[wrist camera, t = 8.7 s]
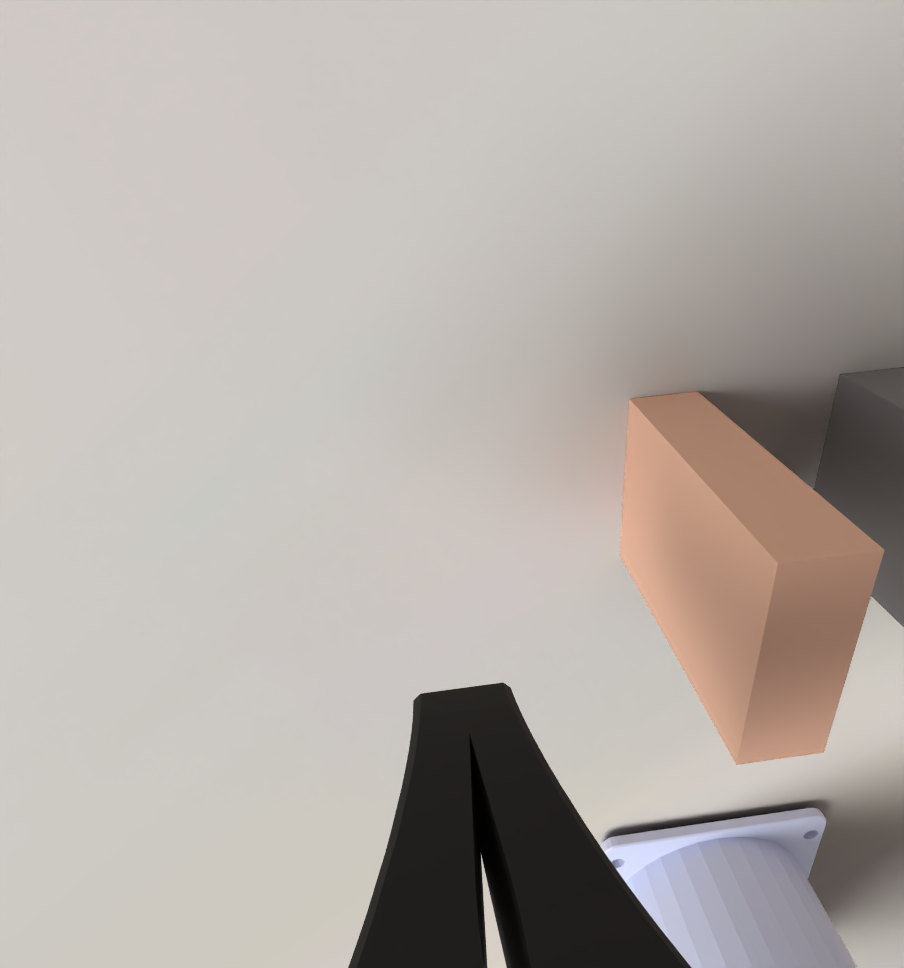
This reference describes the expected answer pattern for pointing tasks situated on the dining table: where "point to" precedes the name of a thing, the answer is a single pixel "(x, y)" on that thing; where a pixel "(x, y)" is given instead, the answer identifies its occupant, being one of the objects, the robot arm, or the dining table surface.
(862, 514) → the domino
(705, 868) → the robot arm
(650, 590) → the domino
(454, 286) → the dining table surface
